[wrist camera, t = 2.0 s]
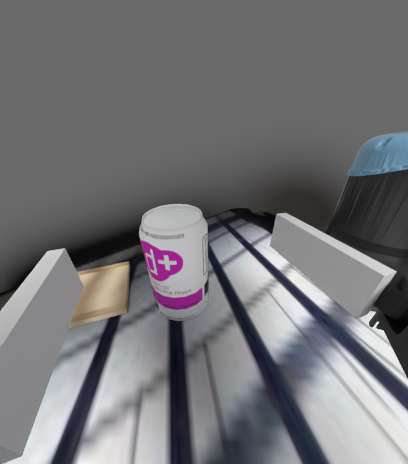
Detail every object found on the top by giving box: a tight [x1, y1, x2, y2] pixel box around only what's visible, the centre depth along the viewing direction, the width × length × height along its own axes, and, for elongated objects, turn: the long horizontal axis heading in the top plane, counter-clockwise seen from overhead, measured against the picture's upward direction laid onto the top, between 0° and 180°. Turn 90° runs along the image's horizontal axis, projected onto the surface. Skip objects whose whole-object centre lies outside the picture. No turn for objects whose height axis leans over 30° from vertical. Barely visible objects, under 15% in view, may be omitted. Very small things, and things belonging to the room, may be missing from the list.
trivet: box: [68, 261, 130, 329], centre depth 29 cm, size 11×11×1 cm
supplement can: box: [139, 204, 209, 321], centre depth 24 cm, size 8×8×15 cm
